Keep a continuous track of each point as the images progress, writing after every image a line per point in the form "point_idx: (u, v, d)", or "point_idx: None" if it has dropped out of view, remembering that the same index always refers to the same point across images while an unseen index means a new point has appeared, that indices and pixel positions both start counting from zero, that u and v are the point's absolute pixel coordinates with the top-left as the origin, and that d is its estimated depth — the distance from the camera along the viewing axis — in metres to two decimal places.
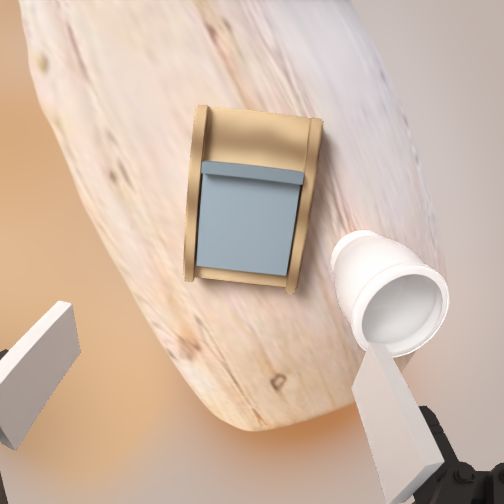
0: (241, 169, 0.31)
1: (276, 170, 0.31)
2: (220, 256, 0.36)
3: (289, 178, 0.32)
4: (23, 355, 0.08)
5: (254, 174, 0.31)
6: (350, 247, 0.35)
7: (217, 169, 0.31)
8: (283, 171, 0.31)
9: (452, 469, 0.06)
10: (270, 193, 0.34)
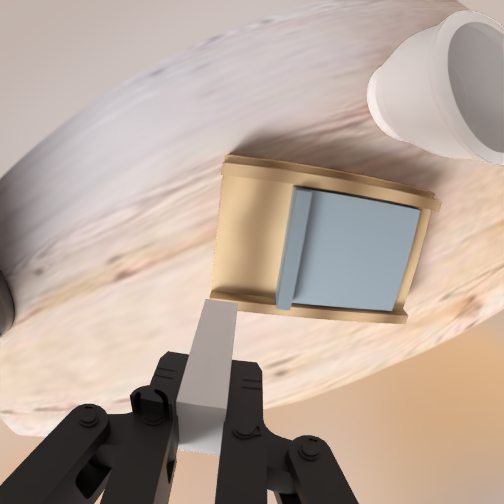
0: (289, 266, 0.26)
1: (292, 225, 0.25)
2: (387, 285, 0.28)
3: (303, 209, 0.25)
4: (210, 353, 0.11)
5: (295, 252, 0.26)
6: (393, 126, 0.23)
7: (287, 293, 0.27)
8: (294, 216, 0.25)
9: (229, 426, 0.08)
10: (321, 228, 0.27)
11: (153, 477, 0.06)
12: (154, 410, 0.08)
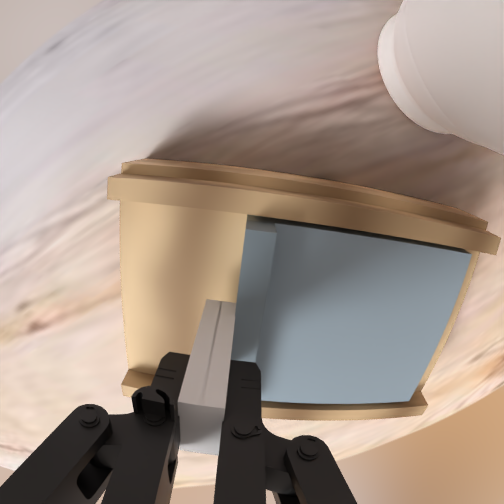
0: None
1: (239, 295, 0.13)
2: (406, 371, 0.16)
3: (260, 265, 0.13)
4: (211, 353, 0.11)
5: (248, 339, 0.14)
6: (432, 100, 0.11)
7: None
8: (241, 280, 0.13)
9: (227, 426, 0.08)
10: (299, 292, 0.15)
11: (154, 477, 0.06)
12: (156, 410, 0.08)
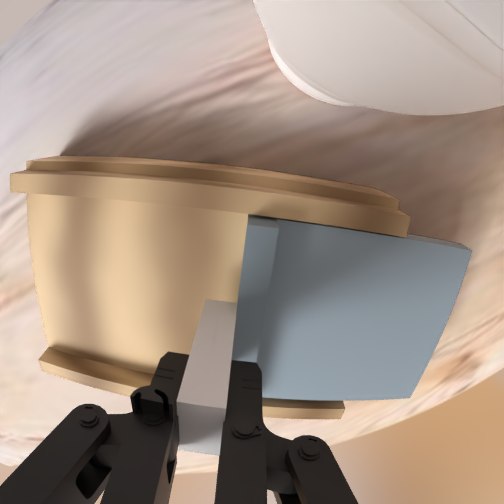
0: (239, 358, 0.14)
1: (241, 291, 0.13)
2: (407, 368, 0.16)
3: (261, 261, 0.13)
4: (210, 353, 0.11)
5: (250, 335, 0.14)
6: (288, 63, 0.11)
7: None
8: (243, 275, 0.13)
9: (228, 426, 0.08)
10: (300, 288, 0.15)
11: (153, 477, 0.06)
12: (154, 410, 0.08)
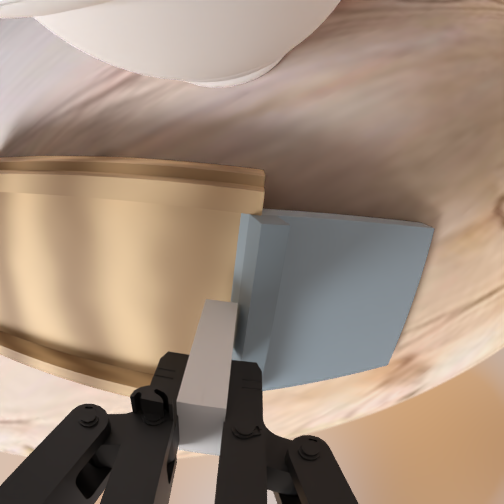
0: (250, 357, 0.14)
1: (254, 291, 0.13)
2: (385, 338, 0.19)
3: (274, 259, 0.13)
4: (210, 353, 0.11)
5: (261, 333, 0.14)
6: None
7: None
8: (256, 275, 0.13)
9: (228, 426, 0.08)
10: (297, 279, 0.15)
11: (153, 477, 0.06)
12: (154, 410, 0.08)
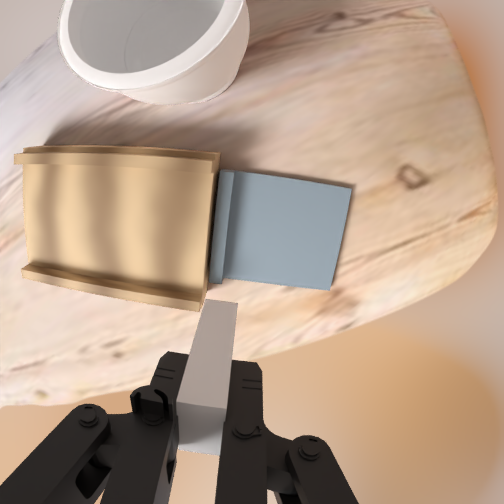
0: (216, 242, 0.28)
1: (217, 203, 0.27)
2: (321, 264, 0.31)
3: (226, 188, 0.27)
4: (210, 353, 0.11)
5: (222, 228, 0.28)
6: None
7: (217, 267, 0.29)
8: (218, 195, 0.27)
9: (229, 426, 0.08)
10: (248, 206, 0.29)
11: (153, 477, 0.06)
12: (154, 410, 0.08)
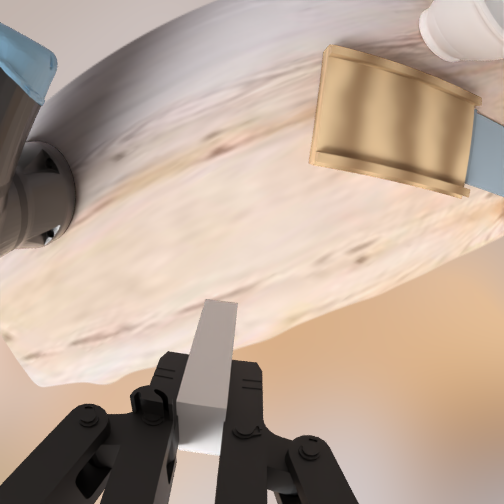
0: None
1: None
2: None
3: None
4: (210, 353, 0.11)
5: (471, 143, 0.32)
6: (444, 39, 0.25)
7: None
8: None
9: (229, 426, 0.08)
10: (476, 134, 0.33)
11: (153, 477, 0.06)
12: (154, 410, 0.08)
